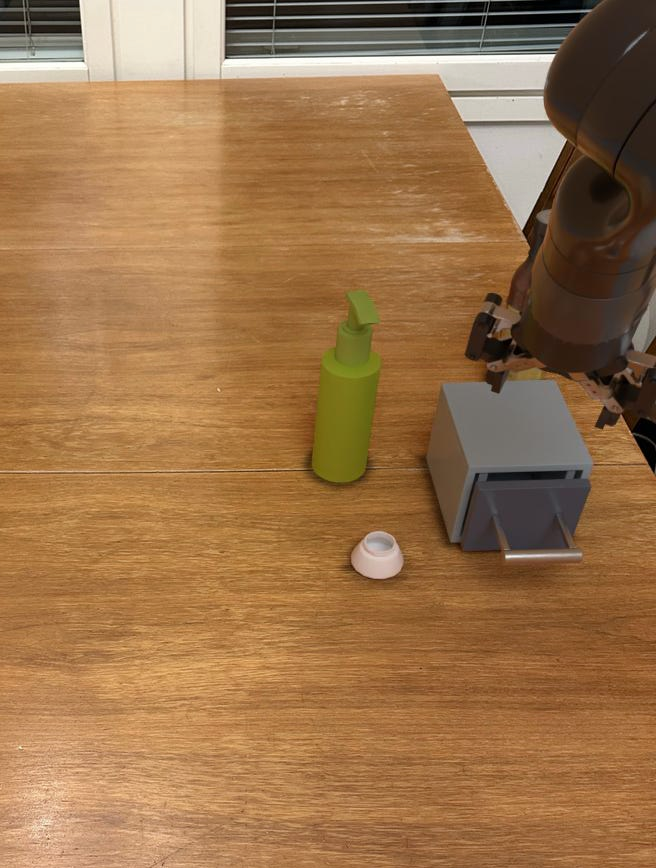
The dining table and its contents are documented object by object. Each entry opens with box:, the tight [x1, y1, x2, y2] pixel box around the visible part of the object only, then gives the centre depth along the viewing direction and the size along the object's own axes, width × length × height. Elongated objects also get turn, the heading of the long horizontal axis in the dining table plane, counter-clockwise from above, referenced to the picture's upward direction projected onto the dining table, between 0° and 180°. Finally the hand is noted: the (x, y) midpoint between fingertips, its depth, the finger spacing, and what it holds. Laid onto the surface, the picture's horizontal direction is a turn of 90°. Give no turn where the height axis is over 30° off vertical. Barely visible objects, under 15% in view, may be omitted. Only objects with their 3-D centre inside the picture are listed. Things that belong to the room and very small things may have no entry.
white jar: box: [350, 530, 405, 580], centre depth 95 cm, size 5×3×5 cm
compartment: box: [459, 470, 592, 566], centre depth 95 cm, size 19×10×8 cm, turn 1°
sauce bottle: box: [497, 208, 552, 381], centre depth 108 cm, size 7×6×20 cm
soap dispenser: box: [310, 289, 382, 484], centre depth 99 cm, size 6×7×20 cm
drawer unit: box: [425, 379, 595, 543], centre depth 99 cm, size 14×12×10 cm
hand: (550, 400), depth 79 cm, fingers open, 8 cm apart
